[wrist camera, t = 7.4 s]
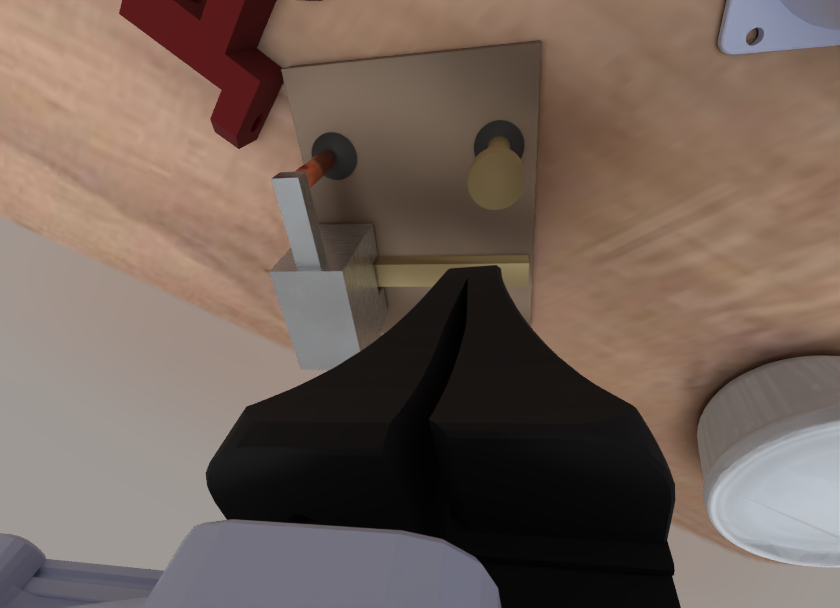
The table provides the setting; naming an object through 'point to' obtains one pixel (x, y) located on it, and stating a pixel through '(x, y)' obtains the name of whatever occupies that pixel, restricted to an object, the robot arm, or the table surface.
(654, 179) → the table surface
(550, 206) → the table surface
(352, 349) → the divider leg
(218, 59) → the bracket
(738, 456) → the ramekin
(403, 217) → the board
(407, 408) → the robot arm
